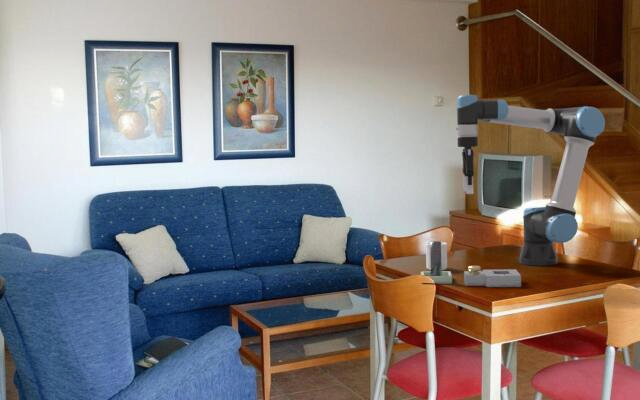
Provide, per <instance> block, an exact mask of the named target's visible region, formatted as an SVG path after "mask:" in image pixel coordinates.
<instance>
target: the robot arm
mask: <svg viewBox="0 0 640 400" xmlns="http://www.w3.org/2000/svg"><path fill="white" fill-rule="evenodd" d="M456 99H457V100H456V115H457V127H456V128H455V131H457V136H458V137H457V147H459V148H462V152H461V155H462V173H463V174H462V184H463V186H462V190H463V191H462V192H465V194H466V195H474V194H475V193H474V192H475V191H474V175H475V172H474V150H473V149H472V147H473V148H475V147H478V145H479V140H478V139H479V137H478V135H479V125H478V124H479V123H478V122H484V123H485V122H486V123H493V124H500V125H501V124H502V125H508V126H509V125H510V126H515V127H516V126H518V127H524V128H525V127H526V128H534V129H541V130H542V131H544V132H545V133H552V134H557V135H561V136H563V138H564V141H565V142H566V143H565V148H564V150H563V151H564V152H563V155H562V159H561V161H560V162H561V163H560V166H559V170H558V174H557V178H556V182H555V185H554V189H553V193H552V197H551V201H549V202H548V203H546V204H545V206H539V207H527V208H525V209H524V210H523V216H522V219H523V245H522V249H521V250H520V251H521V252H520V255H519V259H518V260H519V264H522V265H524V266H525V265H526V266H536V267H537V266H539V267H542V266H546V267H547V266H553V265H555V266H556V265H558V264H559V263H558V262H559V260H558V254H557V252H556V249H555V246H554V243H555V244H558V243H559V244H563V243H567V242H569V241H571V240H572V239H574V238H575V236H576V234H577V233H578V228H579V224H578V221H577V218H576V213H577V211H576V209H575V207H574V206H575V202H576V199H577V194H578V190H579V187H580V183H581V179H582V175H583V172H584V168H585V164H586V160H587V156H588V152H589V149H590V147H592V146H594V145H595V142H596V139H597V137H598V136H600V135H601V134H602V133H604V132H603V131H604V130H605V126H606V121H605V117H604V115H603V113H602V112H601V111H600V109H598V108H596V107H594V106H587V105H586V106H585V105H584V106H579V107H578V106H577V107H567V108H565V107H564V108H550V107H549V108H547V109H538V108H537V109H536V108H530V107H522V106H514V105H508V102H507V101H506V100H504V99H485V100H481V99H478V95H477V94H461V95H459V96H458V97H457V98H456Z"/></svg>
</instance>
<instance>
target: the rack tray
mask: <svg viewBox="0 0 640 400" xmlns="http://www.w3.org/2000/svg"><path fill="white" fill-rule="evenodd" d="M421 275H425V276H428V277H430V278H432V279H433V280H434V281H435V283H436V284H437V285H438V284H439V285H440V284H441V285H443V284H444V285H447V284H448V285H449V284H450V285H452V284H453V276H452V272H451V271H450V270H449V271H447V270H446V271H445V270H442V276H431V270H428V271H420V276H421ZM436 284H435V285H436Z"/></svg>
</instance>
